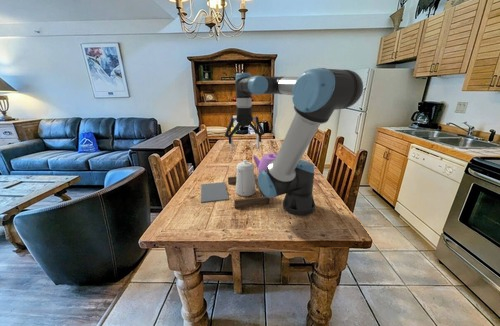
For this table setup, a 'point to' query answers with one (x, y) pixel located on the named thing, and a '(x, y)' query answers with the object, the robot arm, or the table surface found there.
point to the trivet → (213, 192)
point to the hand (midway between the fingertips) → (245, 149)
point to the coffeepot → (245, 179)
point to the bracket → (249, 201)
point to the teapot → (264, 161)
